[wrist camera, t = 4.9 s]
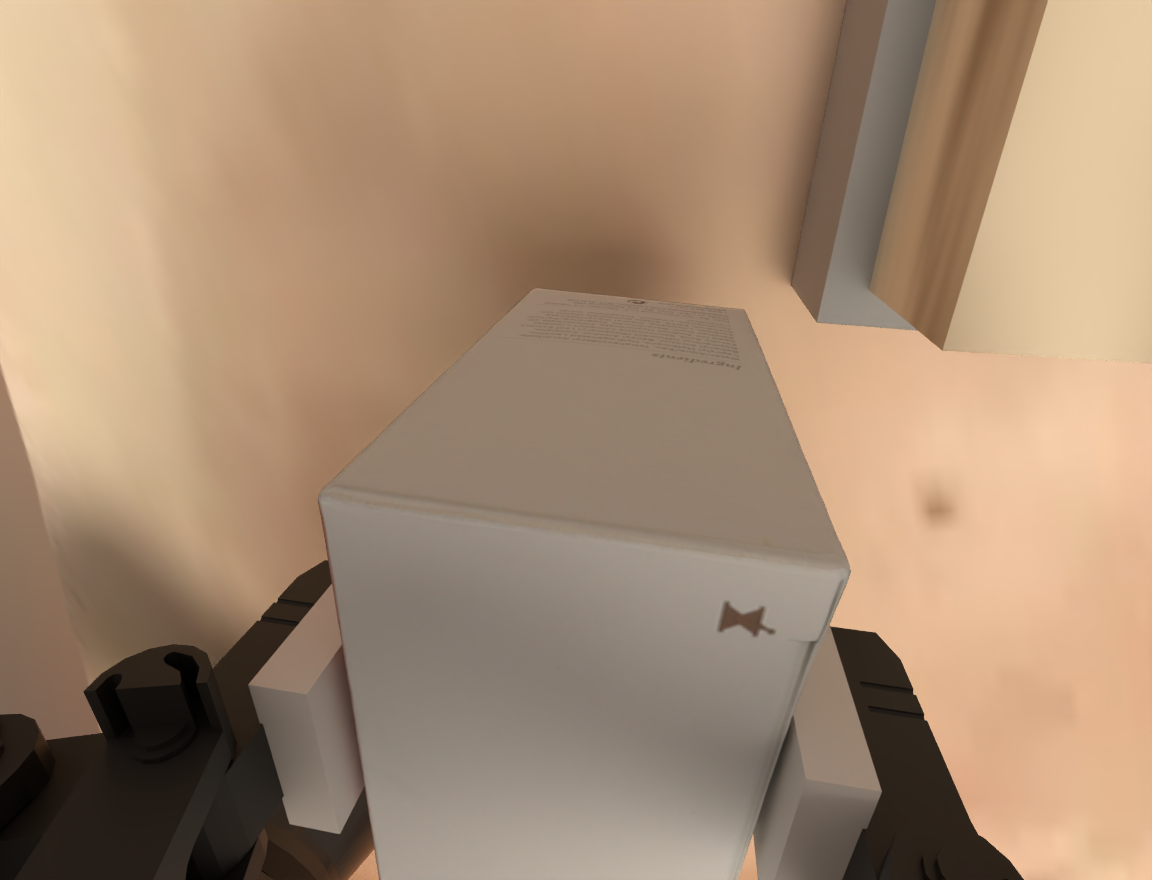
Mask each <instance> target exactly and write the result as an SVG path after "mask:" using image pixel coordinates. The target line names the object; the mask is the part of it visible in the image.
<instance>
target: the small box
mask: <svg viewBox="0 0 1152 880" xmlns="http://www.w3.org/2000/svg"><path fill="white" fill-rule="evenodd" d="M318 504H319V509H320V514H321V519H322V525H323V530H324V537H325V543H326V549H327V555H328V562H329V568H330V574H331V580H332V587H333V593H334V600H335V606H336V613H337V619H338V625H339V630H340V636H341V641H342V647H343V654H344V661H345V667H346V673H347V678H348V684H349V690H350V697H351V703H352V709H353V715H354V721H355V727H356V735H357V742H358V748H359V754H360V760H361V766H362V772H363V778H364V783H365V790H366V797H367V804H368V811H369V818H370V824H371V829H372V836H373V843H374V849H375V856H376V863H377V869H378V875H379V880H738V878H739V875H740V872H741V868H742V865H743V862H744V859H745V856H746V852H747V849H748V846H749V843H750V840H751V838H752V835H753V832H754V828H755V825H756V822H757V819H758V816H759V813H760V810H761V807H762V804H763V801H764V798H765V795H766V792H767V789H768V786H769V783H770V780H771V777H772V775H773V772H774V769H775V766H776V763H777V760H778V757H779V754H780V751H781V748H782V745H783V741H784V739H785V736H786V734H787V731H788V728H789V725H790V721H791V718H792V716H793V713H794V711H795V708H796V706H797V703H798V700H799V698H800V695H801V692H802V690H803V687H804V684H805V681H806V679H807V676H808V673H809V670H810V668H811V665H812V662H813V660H814V657H815V655H816V653H817V650H818V648H819V646H820V644H821V643H822V641H823V639H824V637H825V635H826V632H827V630H828V627H829V625H830V622H831V620H832V617H833V615H834V612H835V610H836V607H837V605H838V603H839V600H840V598H841V596H842V594H843V591H844V589H845V587H846V584H847V581H848V579H849V576H850V573H851V570H850V566H849V562H848V559H847V557H846V554H845V552H844V550H843V548H842V546H841V543H840V541H839V539H838V537H837V535H836V532H835V530H834V527H833V525H832V522H831V520H830V517H829V515H828V512H827V509H826V507H825V504H824V502H823V500H822V498H821V495H820V493H819V491H818V488H817V485H816V483H815V480H814V478H813V475H812V473H811V470H810V468H809V466H808V463H807V461H806V459H805V457H804V454H803V452H802V449H801V447H800V444H799V441H798V438H797V436H796V433H795V431H794V429H793V426H792V423H791V421H790V419H789V416H788V414H787V411H786V408H785V406H784V404H783V401H782V399H781V396H780V393H779V391H778V388H777V386H776V383H775V381H774V378H773V376H772V374H771V371H770V368H769V366H768V364H767V362H766V359H765V357H764V354H763V352H762V349H761V347H760V345H759V342H758V339H757V337H756V335H755V332H754V330H753V328H752V326H751V323H750V321H749V319H748V316H747V314H746V312H745V310H743V309H734V308H723V307H714V306H705V305H696V304H686V303H676V302H667V301H657V300H647V299H638V298H629V297H620V296H610V295H600V294H590V293H580V292H570V291H560V290H550V289H542V288H535V289H533V290H531V291H530V292H529V293H528V294H527V295H526V296H525V297H524V298H523V299H522V300H521V301H520V302H519V303H517V304H516V305H515V306H514V307H513V308H512V309H511V310H510V311H509V312H508V313H507V314H506V315H505V316H504V317H503V318H502V319H501V320H499V321H498V322H497V323H496V324H495V325H494V326H493V327H492V328H491V329H490V330H489V331H488V332H487V333H486V334H485V335H484V336H483V337H482V338H481V339H480V340H478V341H477V343H476V344H474V345H473V346H472V347H471V348H470V349H469V350H468V351H467V352H466V353H465V354H463V355H462V356H461V358H460V359H459V360H458V361H456V362H455V363H454V364H453V365H452V366H451V367H450V368H449V369H448V370H447V371H446V372H445V373H444V374H442V375H441V376H440V377H439V378H438V379H437V380H436V381H435V382H434V383H433V384H432V385H431V386H430V387H429V388H428V389H427V390H426V391H425V392H423V393H422V394H421V395H420V396H419V397H418V398H417V399H416V400H415V401H414V402H413V403H412V404H411V405H410V406H409V407H408V408H407V409H406V410H405V411H404V412H403V413H402V414H401V415H399V416H398V417H397V418H396V419H395V420H394V421H393V422H392V423H391V424H390V425H389V426H388V427H387V428H386V429H385V430H384V431H383V432H382V433H381V434H380V435H379V436H378V437H377V438H376V439H375V440H374V441H373V442H372V443H370V444H369V445H368V446H367V447H366V448H365V449H364V450H363V451H362V452H361V453H360V454H359V455H358V456H356V457H355V458H354V459H353V460H352V461H351V462H350V463H349V465H348V466H347V467H346V468H345V469H344V470H342V471H341V472H340V473H339V474H338V475H337V476H336V477H335V478H334V479H333V480H332V481H331V482H329V483H328V484H327V485H326V486H325V487H324V488H323V489H322V490H321V492H320V493H319V495H318Z"/></svg>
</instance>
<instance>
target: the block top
mask: <svg viewBox="0 0 1152 880" xmlns="http://www.w3.org/2000/svg"><path fill="white" fill-rule="evenodd" d="M869 291H870V292H872V293H873V294H874V295H875V296H877V297H878V298H879V299H880V300H881V301H883V302H884V303H885V304H886V305H888V306H889V307H890V308H891V309H892V310H894V311H895V312H896V313H897V314H898V315H900V316H901V317H902V318H903V319H905V320H906V321H907V322H908V323H909V324H911V325H912V326H913V327H914V328H916V329H917V330H918V331H919V332H920V333H922V334H923V335H924V336H925V337H927V338H928V339H929V340H930V341H931V342H933V343H934V344H935V345H936V346H937V347H939V348H940V349H941V350H942V351H957V352H973V353H989V354H1005V355H1021V356H1037V357H1052V358H1068V359H1084V360H1100V361H1116V362H1132V363H1148V364H1152V0H936V3H935V7H934V12H933V16H932V20H931V25H930V29H929V33H928V37H927V42H926V46H925V50H924V55H923V59H922V63H921V68H920V72H919V76H918V80H917V85H916V89H915V93H914V98H913V102H912V106H911V111H910V115H909V119H908V123H907V128H906V132H905V136H904V141H903V145H902V149H901V154H900V158H899V162H898V166H897V171H896V175H895V179H894V184H893V188H892V192H891V197H890V201H889V205H888V209H887V214H886V218H885V222H884V227H883V231H882V235H881V240H880V244H879V248H878V252H877V257H876V261H875V265H874V270H873V274H872V278H871V283H870V287H869Z"/></svg>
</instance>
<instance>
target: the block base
mask: <svg viewBox="0 0 1152 880" xmlns="http://www.w3.org/2000/svg"><path fill="white" fill-rule="evenodd" d="M935 3H936V0H847V3H846V8H845V13H844V18H843V23H842V28H841V33H840V38H839V43H838V49H837V54H836V59H835V64H834V69H833V74H832V79H831V84H830V89H829V94H828V99H827V105H826V110H825V115H824V120H823V125H822V130H821V135H820V140H819V145H818V150H817V155H816V161H815V166H814V171H813V176H812V181H811V186H810V191H809V196H808V201H807V206H806V212H805V217H804V222H803V227H802V232H801V237H800V242H799V247H798V252H797V257H796V262H795V268H794V273H793V278H792V283H791V286H792V287H793V289H794V290H795V292H796V293H797V295H798V296H799V297H800V299H801V300H802V302H803V303H804V305H805V306H806V308H807V309H808V310H809V312H810V313H811V315H812V316H813V318H814V319H815V321H816V322H817V323H829V324H842V325H855V326H867V327H880V328H893V329H905V330H917V329H916V328H914V327H913V326H912V325H911V324H909V323H908V322H907V321H906V320H905V319H903V318H902V317H901V316H900V315H898V314H897V313H896V312H895V311H894V310H892V309H891V308H890V307H889V306H888V305H886V304H885V303H884V302H883V301H881V300H880V299H879V298H878V297H877V296H875V295H874V294H873V293H872V292H870V291H869V287H870V283H871V278H872V274H873V270H874V265H875V261H876V257H877V252H878V248H879V244H880V240H881V235H882V231H883V227H884V222H885V218H886V214H887V209H888V205H889V201H890V197H891V192H892V188H893V184H894V179H895V175H896V171H897V166H898V162H899V158H900V154H901V149H902V145H903V141H904V136H905V132H906V128H907V123H908V119H909V115H910V111H911V106H912V102H913V98H914V93H915V89H916V85H917V80H918V76H919V72H920V68H921V63H922V59H923V55H924V50H925V46H926V42H927V37H928V33H929V29H930V25H931V20H932V16H933V12H934V7H935Z"/></svg>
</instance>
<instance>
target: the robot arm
mask: <svg viewBox="0 0 1152 880" xmlns="http://www.w3.org/2000/svg"><path fill="white" fill-rule="evenodd" d="M84 694H85V696H86V698H87V700H88V702H89V704H90V706H91V709H92V711H93V713H94V715H95V717H96V719H97V721H98V723H99V726H100V728H101V730H102V732H103V733H99V734H91V735H84V736H76V737H68V738H60V739H52V740H45V738H44V736H43V734H42V732H41V730H40V728H39V727H38V725H37V723H36V721H35V720H34V719H32V718H29V717H27V716H24V715H22V714H6V715H0V880H348V879H349V878H350V877H351V876H352V874H353V873H354V872H355V871H356V870H357V868H358V867H359V866H360V865H361V864H362V863H363V861H364V860H365V859H366V858H367V857H368V855H369V854H370V853H371V852H372V851H373V850H374V843H373V836H372V829H371V824H370V818H369V811H368V804H367V797H366V790H365V783H364V778H363V772H362V766H361V760H360V754H359V748H358V742H357V735H356V727H355V721H354V715H353V709H352V703H351V697H350V690H349V684H348V678H347V673H346V667H345V661H344V654H343V647H342V641H341V636H340V630H339V625H338V619H337V613H336V606H335V600H334V593H333V587H332V580H331V574H330V568H329V562H328V561H327V560H325V561H323V562H322V563H320V564H318V565H317V566H315V567H313V568H312V569H310V570H308V571H307V572H305V573H303V574H302V575H300V576H299V577H297V578H296V579H295V580H294V582H293V583H292V584H291V585H290V586H289V587H288V588H287V589H286V590H285V591H284V592H283V593H282V595H281V596H280V597H279V598H278V602H277V603H273V604H272V605H271V606H270V608H269V609H268V610H267V611H266V612H265V613H264V614H263V615H262V618H261V620H260V621H257V622H256V623H255V624H254V625H253V626H252V627H251V628H250V629H249V630H248V631H247V632H246V633H245V635H244V636H243V637H242V638H241V639H240V640H239V641H238V642H237V643H236V644H235V645H234V646H233V648H232V649H231V650H230V651H229V652H228V653H227V654H226V655H225V656H224V657H223V658H222V659H221V661H220V662H219V663H218V664H217V665H216V666H215V667H214V668H213V669H212V666H211V663H210V661H209V658H208V656H207V653H205V652H203V651H201V650H200V649H198V648H196V647H194V646H187V645H174V644H173V645H168V646H163V647H157V648H152V649H148V650H146V651H143V652H141V653H138V654H136V655H133V656H131V657H128V658H126V659H124V660H122V661H121V662H119V663H118V664H116V665H114V666H113V667H111V668H110V669H108V670H107V671H105V672H103V673H102V674H101V675H100V676H99V677H98V678H97V679H96V680H95V681H94V682H93V683H92V684H91V685H90V686H89V687H88V688H87V689H86V690H85V691H84ZM753 835H754V845H755V854H756V864H757V874H758V880H1024V879H1023V878H1022V877H1021V875H1020V874H1019V873H1018V871H1017V870H1016V869H1015V867H1014V866H1013V864H1012V863H1011V862H1010V861H1009V860H1008V859H1007V858H1006V857H1005V856H1004V855H1003V854H1001V853H1000V852H999V851H998V850H997V849H996V848H995V847H994V846H992V845H991V844H990V843H989V842H988V841H987V840H986V839H984V838H983V837H981V836H979V835H978V834H977V832H976V830H975V828H974V826H973V824H972V823H971V821H970V819H969V816H968V814H967V812H966V809H965V807H964V805H963V803H962V800H961V798H960V796H959V793H958V791H957V789H956V786H955V784H954V782H953V780H952V777H951V775H950V773H949V770H948V768H947V766H946V763H945V761H944V759H943V756H942V754H941V752H940V750H939V747H938V745H937V743H936V740H935V738H934V736H933V733H932V731H931V729H930V727H929V724H928V722H927V721H925V720H924V713H923V710H922V708H921V706H920V704H919V701H918V699H917V697H916V695H913V687H912V685H911V683H910V680H909V678H908V676H907V674H906V671H905V669H904V667H903V664H902V662H901V660H900V659H899V657H898V656H897V655H896V654H895V653H894V652H893V651H892V650H891V649H890V648H889V647H888V646H887V644H886V643H885V642H884V641H883V640H882V639H881V638H880V637H879V636H878V635H877V634H876V633H874V632H866V631H859V630H851V629H844V628H837V627H830V625H829V627H828V630H827V632H826V635H825V637H824V639H823V641H822V643H821V644H820V646H819V648H818V650H817V653H816V655H815V657H814V660H813V662H812V665H811V668H810V670H809V673H808V676H807V679H806V681H805V684H804V687H803V690H802V692H801V695H800V698H799V700H798V703H797V706H796V708H795V711H794V713H793V716H792V718H791V721H790V725H789V728H788V731H787V734H786V736H785V739H784V741H783V745H782V748H781V751H780V754H779V757H778V760H777V763H776V766H775V769H774V772H773V775H772V777H771V780H770V783H769V786H768V789H767V792H766V795H765V798H764V801H763V804H762V807H761V810H760V813H759V816H758V819H757V822H756V825H755V828H754V832H753Z"/></svg>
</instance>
